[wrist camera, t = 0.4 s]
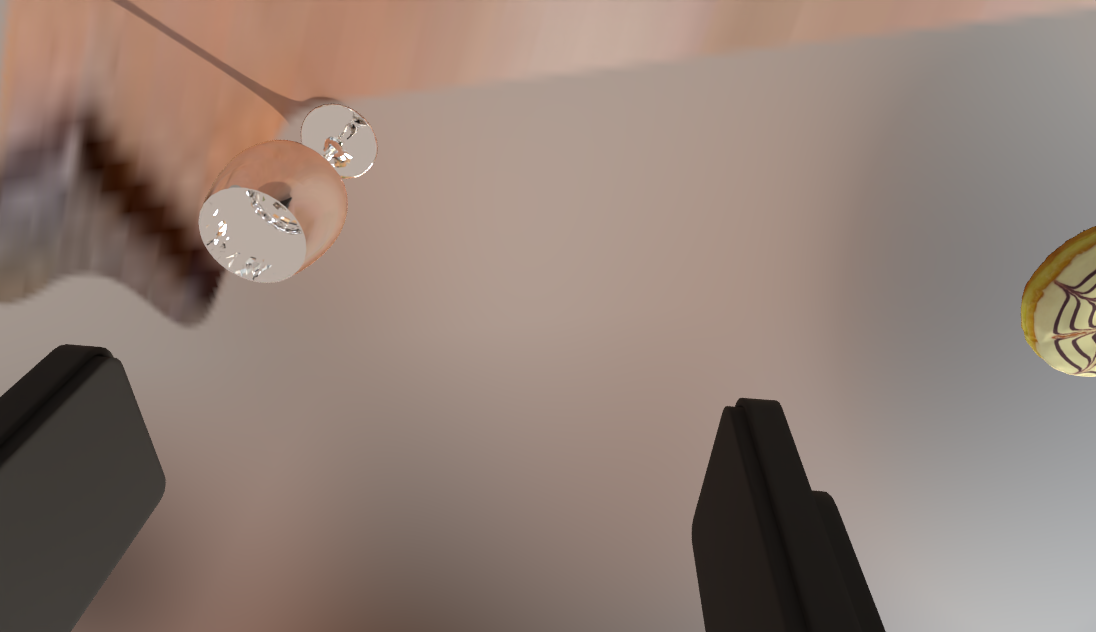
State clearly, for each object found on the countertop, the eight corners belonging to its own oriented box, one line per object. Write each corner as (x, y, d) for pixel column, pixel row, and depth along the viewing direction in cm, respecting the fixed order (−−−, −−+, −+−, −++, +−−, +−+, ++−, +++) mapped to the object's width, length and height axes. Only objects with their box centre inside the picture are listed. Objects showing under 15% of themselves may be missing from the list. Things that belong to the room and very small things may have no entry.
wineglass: (281, 89, 37) (168, 170, 27) (383, 94, 37) (307, 177, 27) (299, 185, 40) (204, 290, 30) (393, 190, 40) (328, 296, 30)
